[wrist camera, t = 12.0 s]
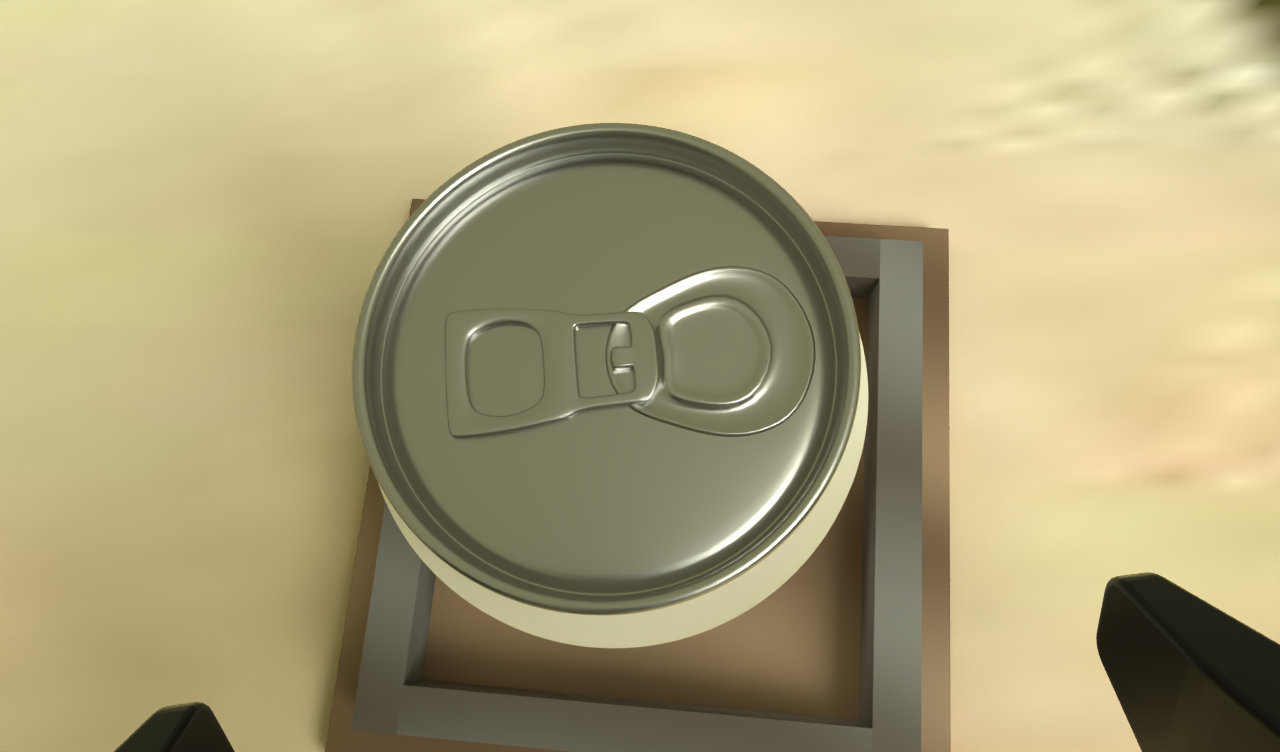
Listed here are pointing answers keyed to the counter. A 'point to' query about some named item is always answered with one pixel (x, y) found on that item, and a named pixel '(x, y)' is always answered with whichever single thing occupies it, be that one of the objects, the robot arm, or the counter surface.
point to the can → (611, 384)
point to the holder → (732, 652)
